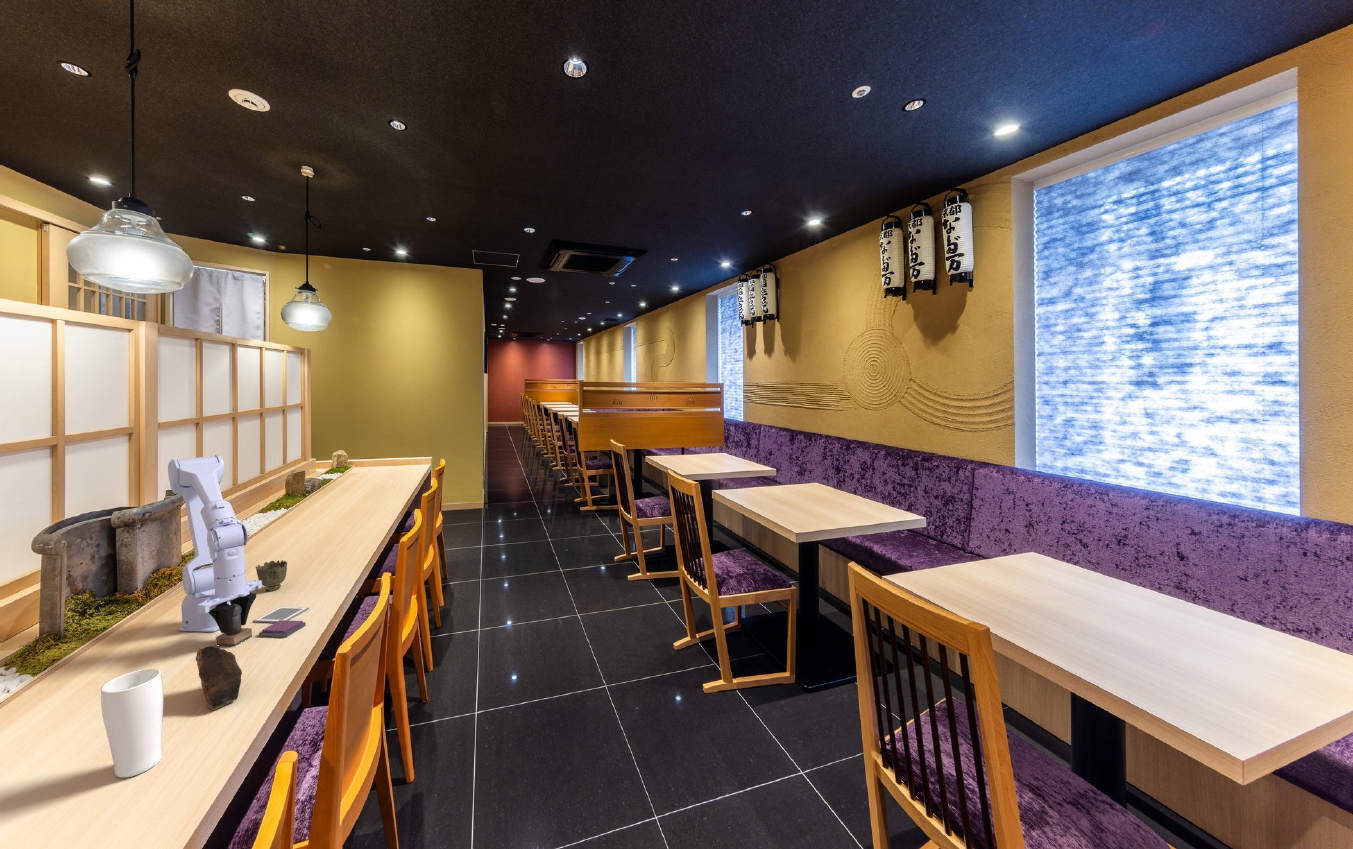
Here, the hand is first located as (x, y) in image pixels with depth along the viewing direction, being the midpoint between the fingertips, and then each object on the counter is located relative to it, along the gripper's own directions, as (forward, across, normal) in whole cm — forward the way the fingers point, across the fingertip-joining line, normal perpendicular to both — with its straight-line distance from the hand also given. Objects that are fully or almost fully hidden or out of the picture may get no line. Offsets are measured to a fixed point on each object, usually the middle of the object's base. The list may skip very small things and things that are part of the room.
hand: (233, 628), depth 120 cm
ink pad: (+3, +6, -8) cm, 10 cm away
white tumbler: (+3, -38, -22) cm, 44 cm away
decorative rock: (+3, -20, -17) cm, 27 cm away
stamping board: (+3, +14, 0) cm, 14 cm away
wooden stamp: (+3, 0, 0) cm, 3 cm away
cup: (+3, +30, +17) cm, 34 cm away
